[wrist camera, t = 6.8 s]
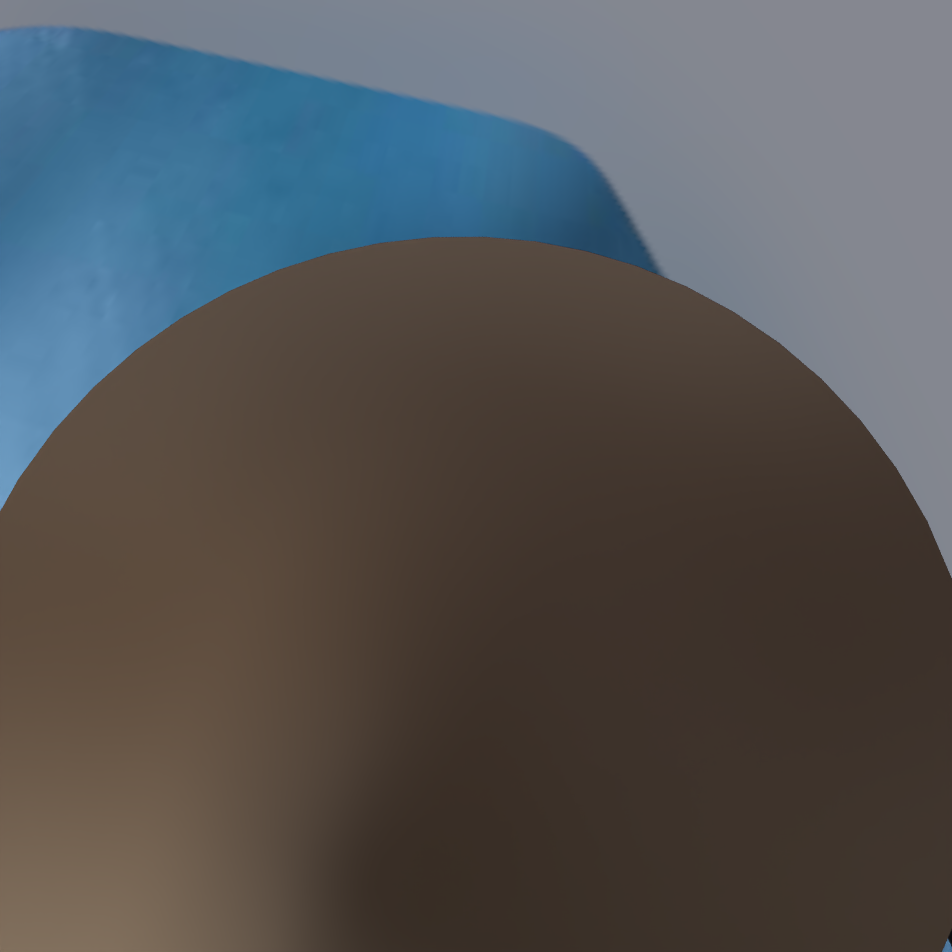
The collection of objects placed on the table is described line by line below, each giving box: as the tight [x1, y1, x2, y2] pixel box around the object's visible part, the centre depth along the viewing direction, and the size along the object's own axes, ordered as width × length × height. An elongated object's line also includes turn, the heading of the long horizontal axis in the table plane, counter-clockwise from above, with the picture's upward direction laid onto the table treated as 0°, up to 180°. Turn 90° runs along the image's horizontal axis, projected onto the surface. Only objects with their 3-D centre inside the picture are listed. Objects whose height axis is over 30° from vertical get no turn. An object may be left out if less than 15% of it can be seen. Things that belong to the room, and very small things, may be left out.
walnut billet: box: [0, 237, 952, 952], centre depth 11 cm, size 6×6×13 cm
